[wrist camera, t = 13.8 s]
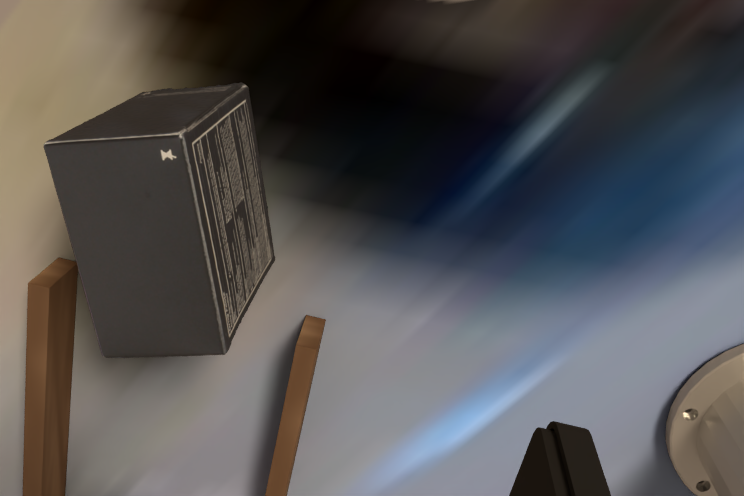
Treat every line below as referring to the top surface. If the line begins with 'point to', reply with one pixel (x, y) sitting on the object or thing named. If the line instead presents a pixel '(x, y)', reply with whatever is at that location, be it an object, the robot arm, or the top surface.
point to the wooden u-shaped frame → (54, 376)
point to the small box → (166, 219)
